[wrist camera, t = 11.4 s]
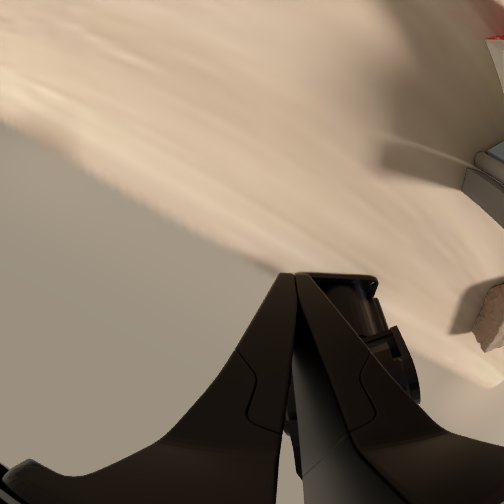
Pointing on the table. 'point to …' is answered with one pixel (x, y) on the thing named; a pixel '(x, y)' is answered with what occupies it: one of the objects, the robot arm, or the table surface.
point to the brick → (491, 320)
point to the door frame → (485, 193)
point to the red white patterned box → (497, 55)
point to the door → (492, 162)
